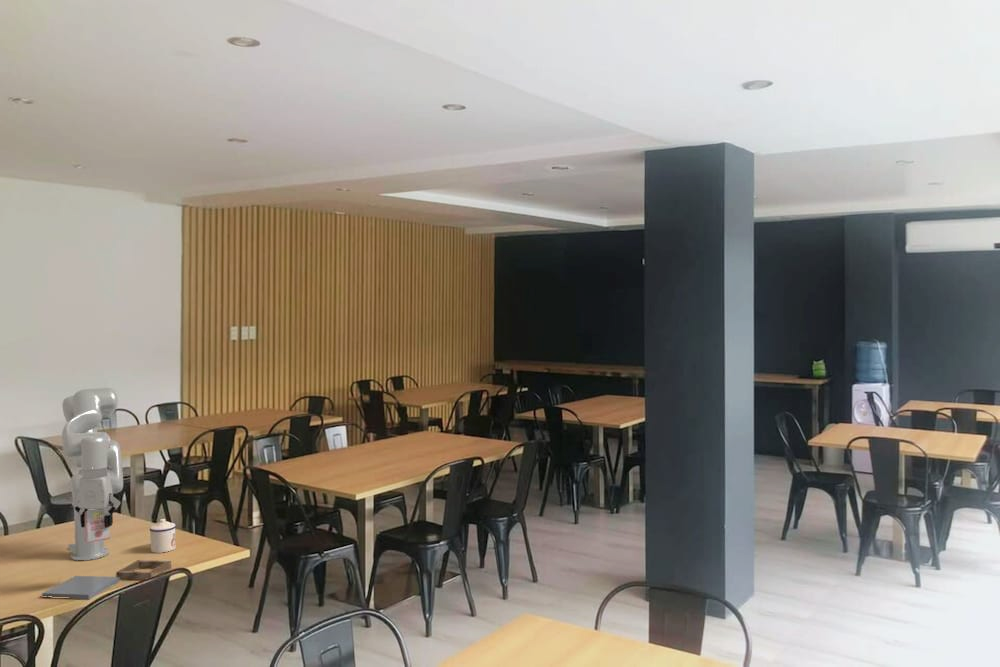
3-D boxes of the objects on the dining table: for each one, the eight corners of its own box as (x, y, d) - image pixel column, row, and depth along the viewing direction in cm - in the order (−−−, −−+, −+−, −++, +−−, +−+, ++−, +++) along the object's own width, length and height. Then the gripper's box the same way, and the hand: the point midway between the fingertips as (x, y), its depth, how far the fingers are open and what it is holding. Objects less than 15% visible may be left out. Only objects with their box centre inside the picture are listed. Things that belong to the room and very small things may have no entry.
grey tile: (42, 597, 250) (42, 593, 250) (75, 580, 266) (75, 575, 265) (88, 599, 248) (88, 594, 248) (119, 581, 264) (119, 577, 263)
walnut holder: (116, 579, 266) (116, 572, 265) (138, 567, 278) (137, 560, 278) (151, 580, 264) (150, 573, 264) (171, 567, 276) (171, 560, 276)
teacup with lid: (177, 551, 296) (176, 520, 295) (151, 555, 291) (150, 523, 291) (174, 542, 306) (173, 513, 306) (149, 546, 302) (148, 516, 302)
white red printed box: (85, 539, 259) (84, 510, 259) (107, 536, 263) (106, 506, 263) (86, 542, 256) (85, 512, 256) (109, 538, 260) (108, 508, 260)
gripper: (62, 475, 256) (64, 529, 257) (113, 476, 254) (115, 529, 255) (77, 470, 263) (79, 522, 264) (126, 471, 262) (128, 523, 262)
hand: (96, 526), depth 260 cm, fingers closed on white red printed box, 7 cm apart
